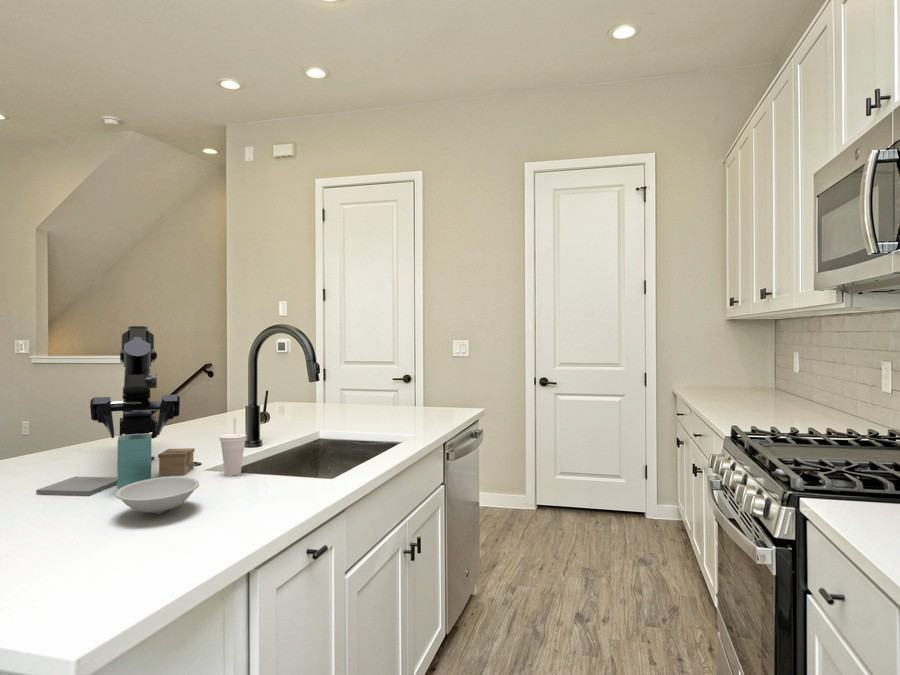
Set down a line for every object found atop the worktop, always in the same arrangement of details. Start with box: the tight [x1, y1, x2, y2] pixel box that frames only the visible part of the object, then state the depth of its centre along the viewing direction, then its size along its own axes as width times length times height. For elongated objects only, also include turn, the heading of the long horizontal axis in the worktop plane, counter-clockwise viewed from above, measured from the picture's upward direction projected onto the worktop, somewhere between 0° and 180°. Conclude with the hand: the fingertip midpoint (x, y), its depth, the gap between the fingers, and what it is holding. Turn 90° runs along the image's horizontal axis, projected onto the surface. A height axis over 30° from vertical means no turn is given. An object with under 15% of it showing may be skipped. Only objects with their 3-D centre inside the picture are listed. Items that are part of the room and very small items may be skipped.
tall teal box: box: [116, 433, 152, 491], centre depth 132 cm, size 6×6×12 cm
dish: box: [115, 476, 200, 515], centre depth 116 cm, size 18×14×5 cm
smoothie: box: [219, 417, 247, 476], centre depth 148 cm, size 6×6×14 cm
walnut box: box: [157, 447, 195, 476], centre depth 150 cm, size 7×6×5 cm
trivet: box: [35, 476, 117, 497], centre depth 134 cm, size 12×12×1 cm
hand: (135, 435), depth 136 cm, fingers open, 9 cm apart
